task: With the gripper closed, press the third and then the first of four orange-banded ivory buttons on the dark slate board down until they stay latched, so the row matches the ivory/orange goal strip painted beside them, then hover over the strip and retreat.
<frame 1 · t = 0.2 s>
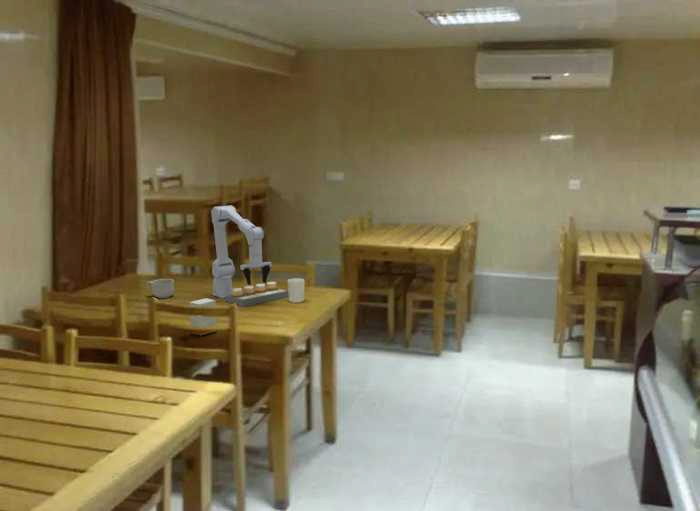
hand: (256, 283, 303), 10 cm above the table, tool pointing down, fingers open, 7 cm apart
button 4: (271, 286, 322), point 4 cm above the table, slide at 0.0 cm
white cup: (296, 301, 310), on the table
small box: (204, 333, 260), on the table
button 1: (237, 293, 309), point 4 cm above the table, slide at 0.0 cm
button 2: (249, 290, 313), point 4 cm above the table, slide at 0.0 cm
button 3: (260, 288, 318), point 4 cm above the table, slide at 0.0 cm
board: (257, 299, 315), on the table
teacup: (160, 297, 324), on the table
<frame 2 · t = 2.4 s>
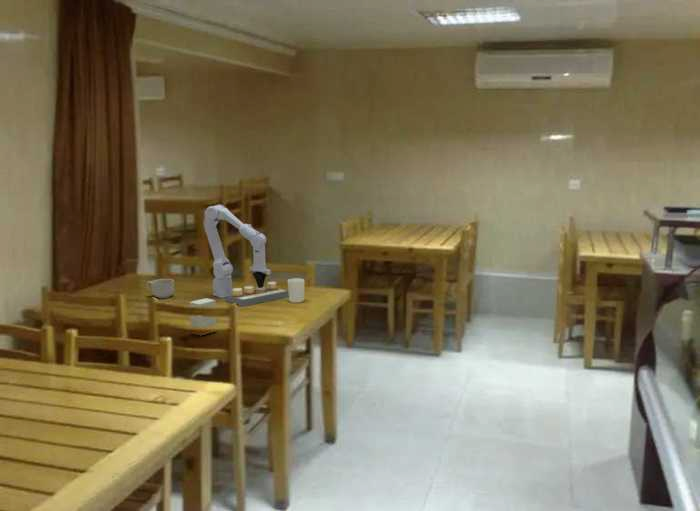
hand: (260, 287, 317), 5 cm above the table, tool pointing down, fingers closed, pressing on button 3
button 3: (260, 291, 318), point 3 cm above the table, slide at 1.3 cm, touching gripper
everything else where it was.
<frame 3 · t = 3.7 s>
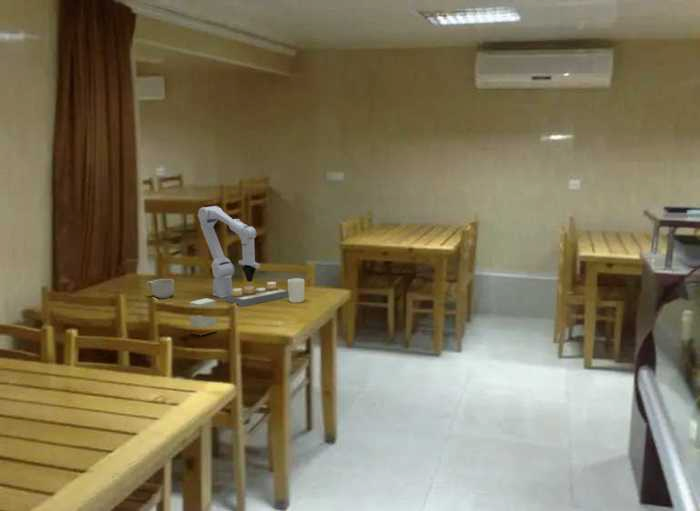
hand: (249, 281, 313), 9 cm above the table, tool pointing down, fingers closed
button 3: (260, 292, 318), point 2 cm above the table, slide at 2.0 cm
everything else where it was.
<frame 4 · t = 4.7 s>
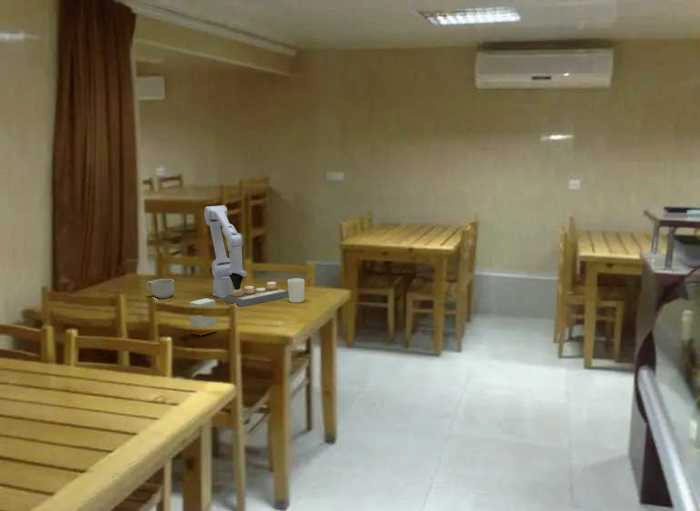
hand: (237, 289, 309), 6 cm above the table, tool pointing down, fingers closed, pressing on button 1
button 1: (237, 293, 309), point 4 cm above the table, slide at 0.1 cm, touching gripper
everything else where it was.
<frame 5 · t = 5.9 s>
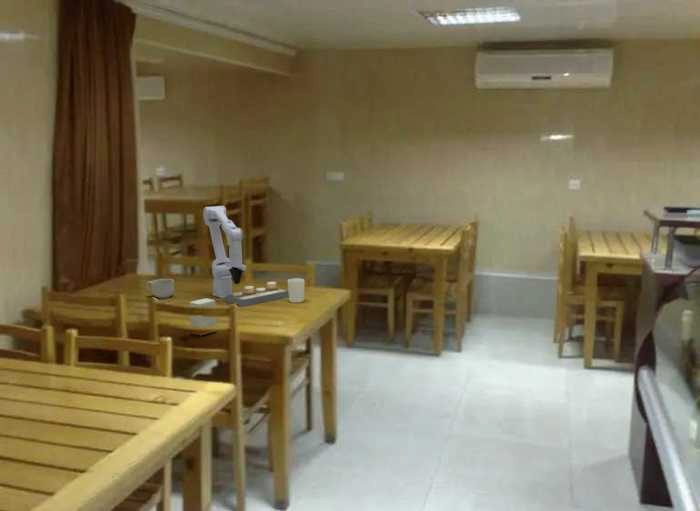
hand: (236, 283, 308), 9 cm above the table, tool pointing down, fingers closed
button 1: (237, 297, 309), point 2 cm above the table, slide at 2.0 cm
everything else where it was.
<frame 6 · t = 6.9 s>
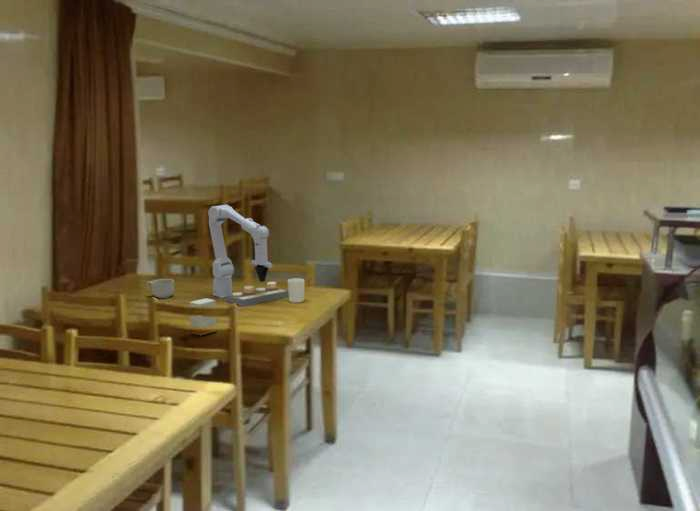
hand: (262, 281, 310), 9 cm above the table, tool pointing down, fingers closed
nothing on the table moved.
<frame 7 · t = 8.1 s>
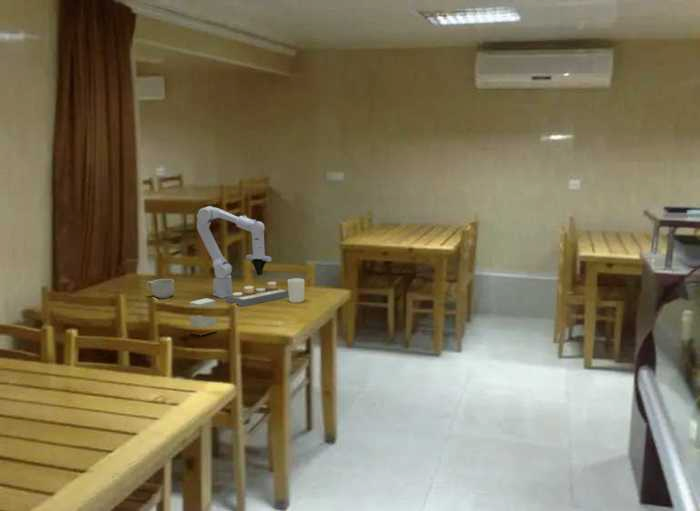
hand: (259, 274, 320), 10 cm above the table, tool pointing down, fingers closed
nothing on the table moved.
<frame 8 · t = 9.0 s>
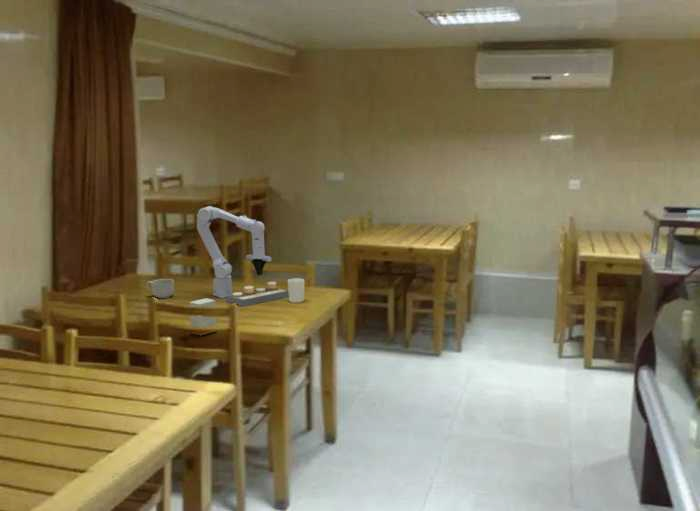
hand: (259, 274, 320), 10 cm above the table, tool pointing down, fingers closed
nothing on the table moved.
at the end: button 1 slide at 2.0 cm; button 3 slide at 2.0 cm; button 2 slide at 0.0 cm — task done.
